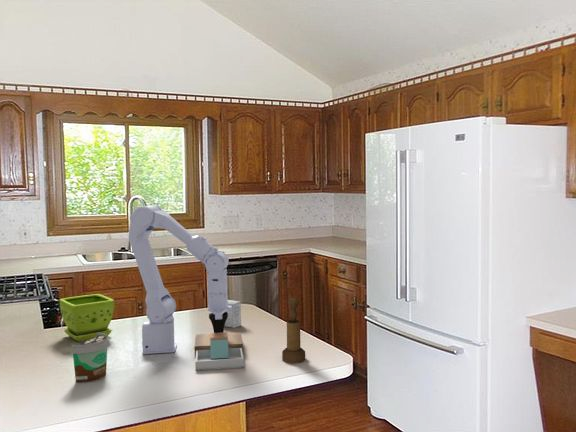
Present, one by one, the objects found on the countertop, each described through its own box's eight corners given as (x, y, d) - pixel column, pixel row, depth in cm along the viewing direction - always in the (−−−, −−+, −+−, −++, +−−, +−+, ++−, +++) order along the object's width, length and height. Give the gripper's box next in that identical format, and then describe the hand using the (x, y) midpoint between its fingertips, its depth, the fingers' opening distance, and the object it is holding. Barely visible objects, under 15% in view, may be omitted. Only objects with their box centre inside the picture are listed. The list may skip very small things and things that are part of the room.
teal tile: (210, 359, 148) (210, 358, 145) (210, 341, 149) (210, 340, 147) (228, 357, 148) (228, 357, 146) (227, 340, 150) (228, 339, 147)
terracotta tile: (210, 346, 150) (210, 337, 149) (210, 341, 155) (210, 332, 154) (227, 345, 150) (227, 336, 150) (227, 340, 155) (227, 332, 155)
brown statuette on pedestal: (288, 364, 144) (288, 300, 143) (278, 358, 149) (277, 296, 148) (309, 360, 147) (309, 297, 146) (298, 354, 152) (297, 293, 151)
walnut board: (194, 358, 150) (194, 346, 150) (195, 345, 162) (195, 334, 162) (243, 355, 152) (243, 343, 152) (241, 343, 164) (240, 332, 164)
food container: (94, 386, 130) (92, 346, 129) (72, 384, 131) (70, 345, 130) (119, 369, 142) (118, 333, 141) (99, 367, 143) (98, 331, 142)
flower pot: (73, 345, 163) (72, 305, 163) (59, 336, 174) (57, 298, 173) (116, 336, 173) (115, 298, 172) (100, 328, 183) (99, 292, 182)
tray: (195, 370, 140) (195, 361, 140) (196, 358, 149) (196, 350, 149) (243, 367, 142) (243, 358, 142) (241, 356, 151) (241, 347, 151)
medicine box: (241, 325, 185) (241, 301, 184) (233, 328, 181) (233, 303, 181) (224, 322, 189) (223, 299, 189) (216, 325, 185) (215, 301, 185)
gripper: (232, 297, 149) (233, 343, 149) (230, 287, 163) (231, 329, 164) (207, 298, 148) (208, 345, 148) (207, 288, 162) (208, 331, 163)
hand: (218, 337), depth 156 cm, fingers closed
